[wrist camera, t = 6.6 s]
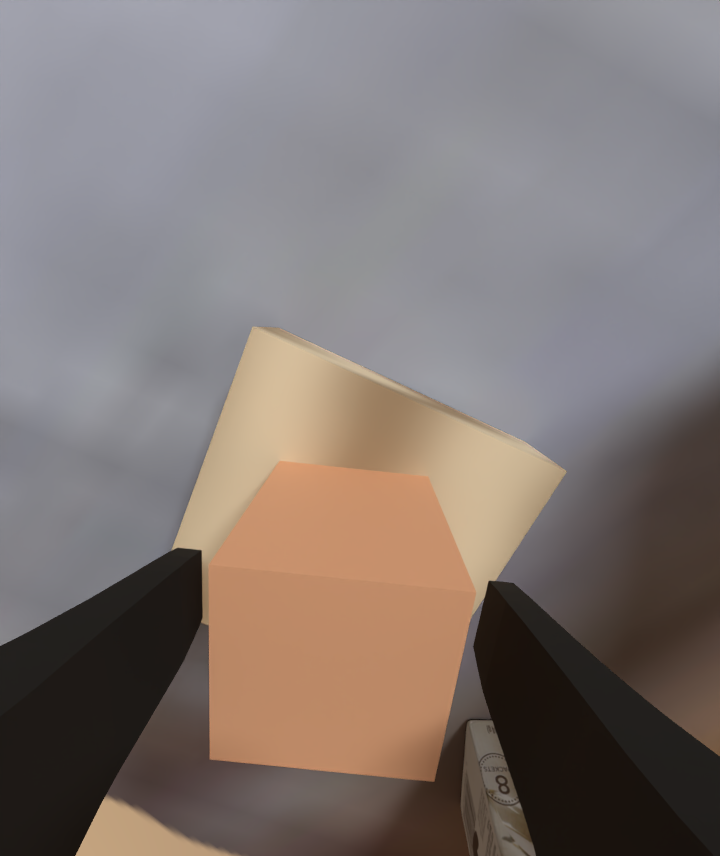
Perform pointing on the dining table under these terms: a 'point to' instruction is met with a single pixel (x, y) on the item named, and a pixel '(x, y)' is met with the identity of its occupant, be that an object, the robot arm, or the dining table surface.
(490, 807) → the coffee box
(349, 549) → the block
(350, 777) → the dining table surface
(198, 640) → the dining table surface
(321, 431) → the riser
